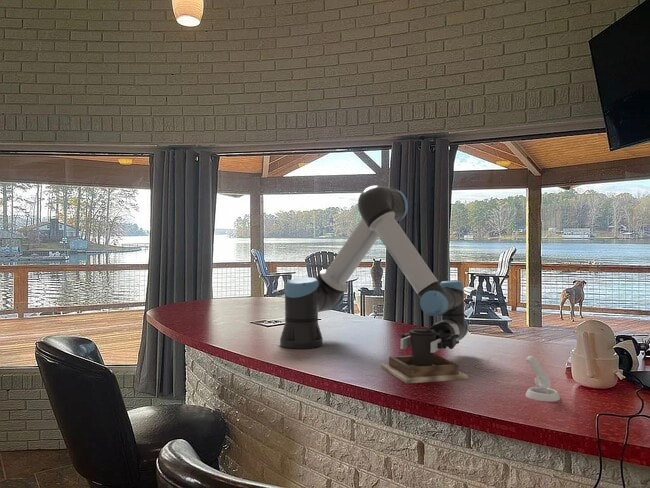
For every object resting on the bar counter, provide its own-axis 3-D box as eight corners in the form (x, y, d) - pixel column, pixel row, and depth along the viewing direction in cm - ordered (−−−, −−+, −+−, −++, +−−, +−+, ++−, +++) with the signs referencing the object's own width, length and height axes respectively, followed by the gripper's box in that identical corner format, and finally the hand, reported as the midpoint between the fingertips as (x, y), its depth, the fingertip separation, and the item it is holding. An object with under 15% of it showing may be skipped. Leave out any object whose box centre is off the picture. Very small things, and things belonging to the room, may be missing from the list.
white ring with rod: (501, 373, 132) (517, 354, 135) (529, 412, 133) (545, 393, 136) (522, 373, 125) (539, 354, 128) (552, 414, 126) (568, 394, 129)
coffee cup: (431, 369, 147) (431, 332, 147) (403, 365, 152) (403, 329, 151) (441, 363, 154) (441, 328, 154) (414, 360, 158) (415, 325, 158)
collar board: (406, 383, 142) (406, 370, 142) (381, 367, 159) (381, 355, 159) (467, 379, 147) (468, 366, 146) (437, 364, 164) (437, 352, 164)
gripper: (477, 349, 163) (453, 364, 143) (411, 342, 174) (381, 355, 154) (477, 324, 163) (454, 335, 143) (411, 318, 174) (381, 328, 154)
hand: (416, 345), depth 149 cm, fingers closed on coffee cup, 8 cm apart
